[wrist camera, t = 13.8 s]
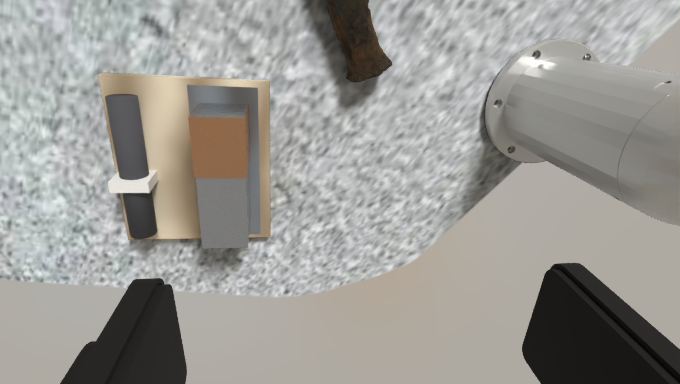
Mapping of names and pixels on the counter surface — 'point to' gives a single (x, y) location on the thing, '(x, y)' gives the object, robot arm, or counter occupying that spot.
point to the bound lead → (132, 165)
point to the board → (175, 147)
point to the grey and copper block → (222, 173)
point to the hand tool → (358, 39)
